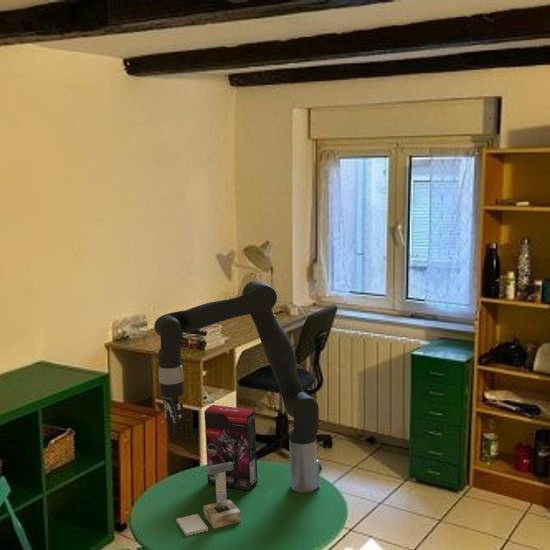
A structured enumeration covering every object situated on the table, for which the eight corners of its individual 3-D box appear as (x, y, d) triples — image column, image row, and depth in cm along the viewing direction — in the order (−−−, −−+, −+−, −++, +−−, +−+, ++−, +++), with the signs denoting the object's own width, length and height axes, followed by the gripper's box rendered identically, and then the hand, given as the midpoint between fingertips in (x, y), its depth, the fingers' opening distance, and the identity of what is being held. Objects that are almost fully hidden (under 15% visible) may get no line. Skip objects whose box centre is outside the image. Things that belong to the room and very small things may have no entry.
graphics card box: (206, 484, 251) (202, 410, 247) (215, 476, 257) (212, 403, 253) (250, 491, 245) (247, 415, 240) (258, 483, 251) (256, 408, 247)
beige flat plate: (197, 516, 228) (197, 513, 228) (208, 530, 219) (207, 527, 219) (176, 521, 225) (176, 518, 225) (186, 536, 216) (186, 533, 216)
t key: (232, 513, 229) (230, 460, 227) (235, 518, 227) (233, 464, 224) (208, 519, 226) (206, 465, 223) (212, 524, 223) (209, 469, 220)
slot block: (230, 509, 232) (230, 499, 232) (240, 521, 224) (240, 511, 224) (204, 516, 229) (203, 505, 228) (213, 528, 220) (213, 518, 220)
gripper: (189, 383, 217) (192, 434, 219) (176, 372, 230) (179, 420, 232) (165, 387, 214) (169, 439, 216) (153, 375, 227) (156, 424, 229)
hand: (174, 429), depth 224 cm, fingers open, 8 cm apart
